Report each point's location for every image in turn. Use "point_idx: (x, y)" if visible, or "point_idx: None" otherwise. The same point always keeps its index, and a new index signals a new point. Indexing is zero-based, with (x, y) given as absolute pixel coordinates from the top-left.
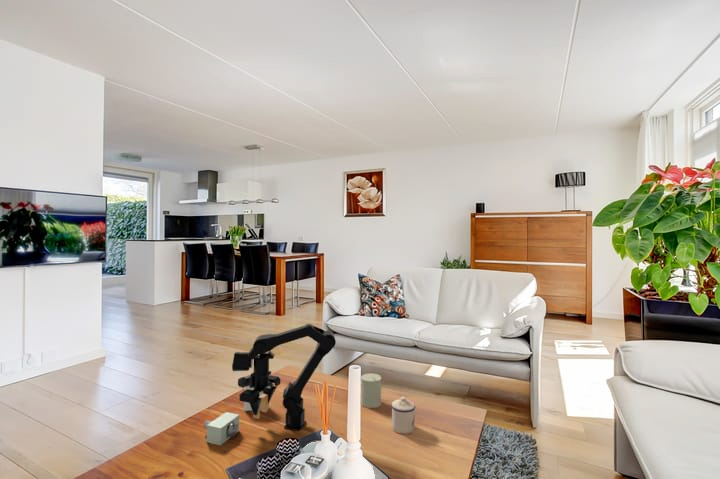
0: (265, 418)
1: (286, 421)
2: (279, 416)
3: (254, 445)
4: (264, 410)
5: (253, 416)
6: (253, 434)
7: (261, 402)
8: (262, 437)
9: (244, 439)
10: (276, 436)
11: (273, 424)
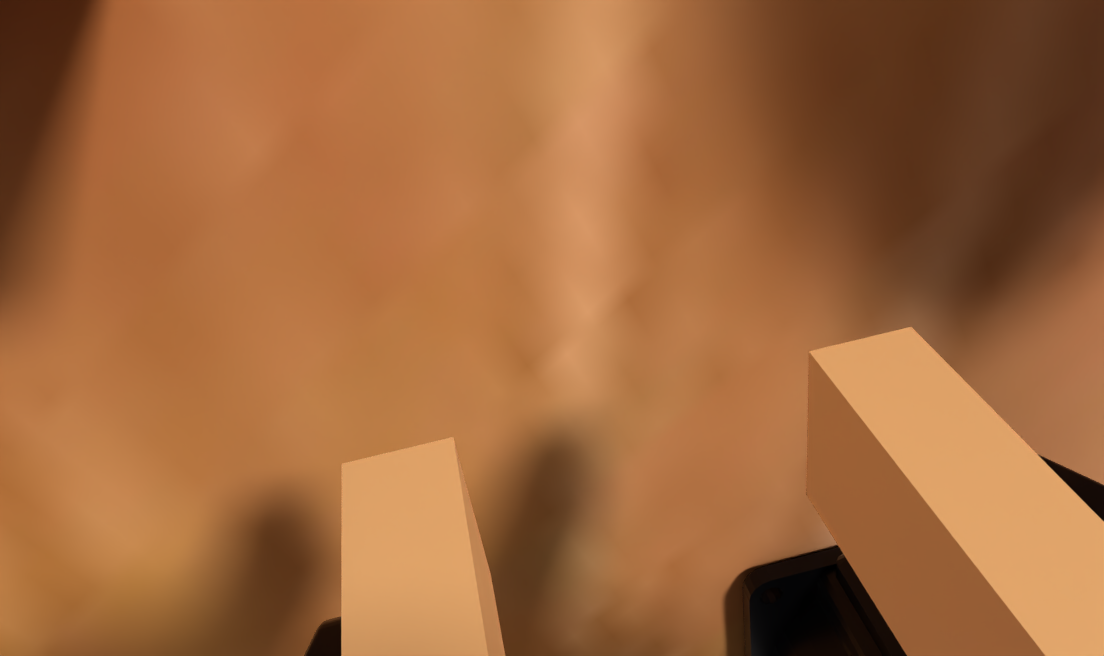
0: (955, 35)
1: (855, 606)
2: (1098, 237)
3: (48, 603)
4: (831, 483)
5: (351, 508)
6: (279, 332)
7: (994, 605)
8: (322, 524)
9: (5, 332)
10: None
11: (783, 361)
